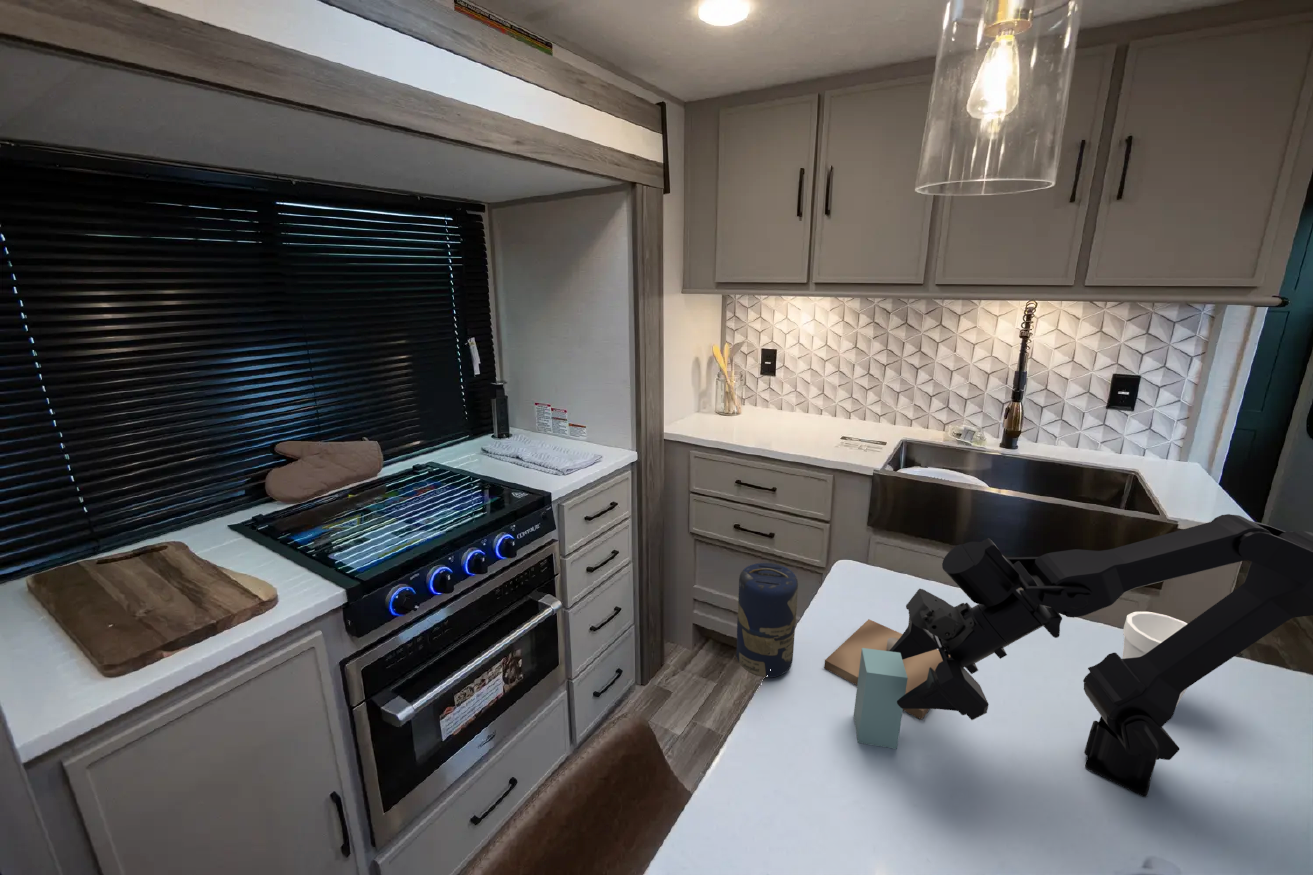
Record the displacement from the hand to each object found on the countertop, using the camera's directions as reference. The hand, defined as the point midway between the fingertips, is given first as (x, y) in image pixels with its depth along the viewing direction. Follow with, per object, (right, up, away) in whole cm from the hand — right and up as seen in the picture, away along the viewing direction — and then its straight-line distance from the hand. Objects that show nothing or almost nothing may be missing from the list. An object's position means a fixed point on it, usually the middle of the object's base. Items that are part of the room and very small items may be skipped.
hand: (892, 681), depth 80 cm
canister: (-15, -4, +17) cm, 23 cm away
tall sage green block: (-1, -9, +3) cm, 9 cm away
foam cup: (+42, -7, +8) cm, 44 cm away
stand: (+6, -5, +16) cm, 18 cm away
